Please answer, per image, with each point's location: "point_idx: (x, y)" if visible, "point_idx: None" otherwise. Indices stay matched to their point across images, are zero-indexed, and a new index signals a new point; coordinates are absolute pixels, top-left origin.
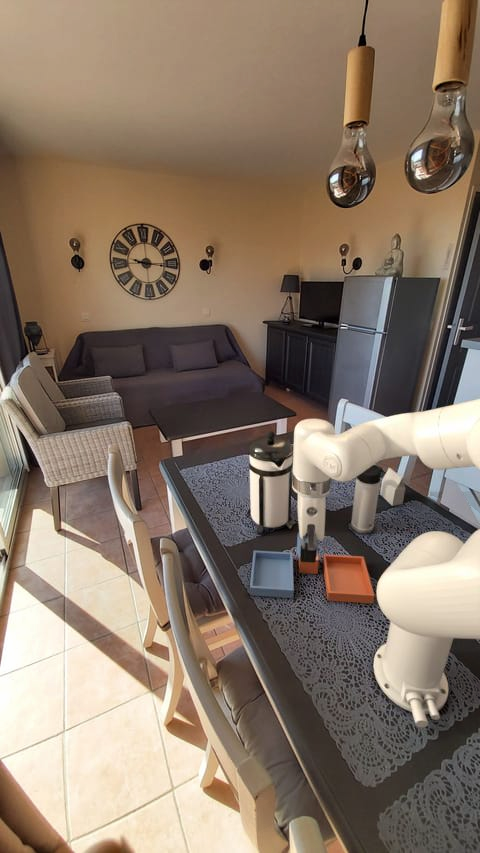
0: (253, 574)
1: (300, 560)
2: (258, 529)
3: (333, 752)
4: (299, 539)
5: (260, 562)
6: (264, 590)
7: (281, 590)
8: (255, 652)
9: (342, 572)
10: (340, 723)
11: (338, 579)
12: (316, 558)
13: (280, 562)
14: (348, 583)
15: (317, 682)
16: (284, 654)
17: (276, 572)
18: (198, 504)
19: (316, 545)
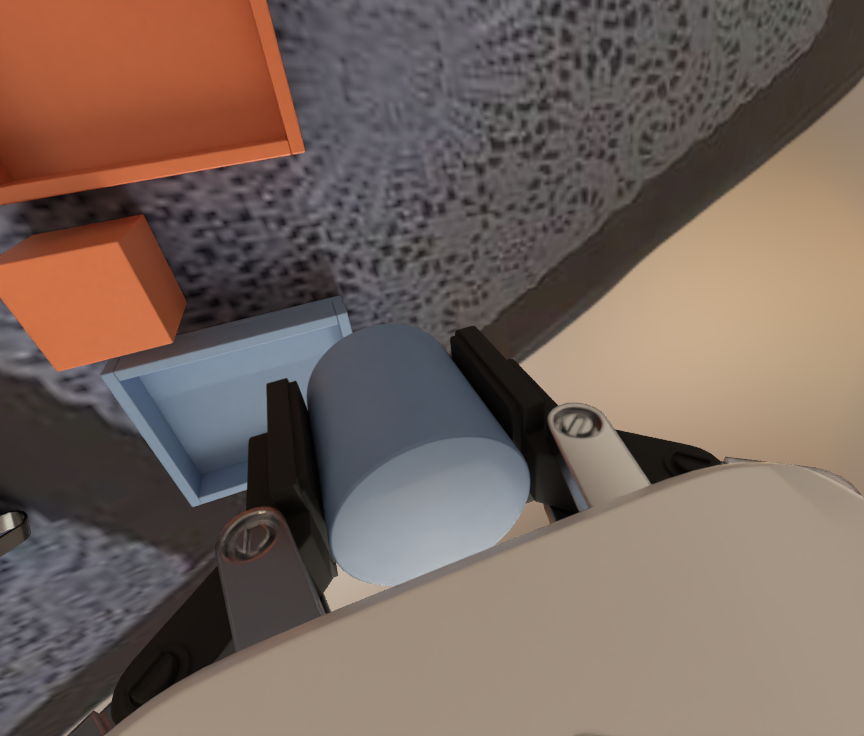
0: None
1: None
2: (15, 544)
3: (756, 109)
4: (492, 545)
5: (217, 453)
6: None
7: None
8: (542, 345)
9: (41, 51)
10: (711, 88)
11: (128, 84)
12: (109, 256)
13: (173, 392)
14: (127, 9)
15: (616, 165)
16: (544, 274)
17: (241, 388)
18: (14, 728)
19: (465, 398)
